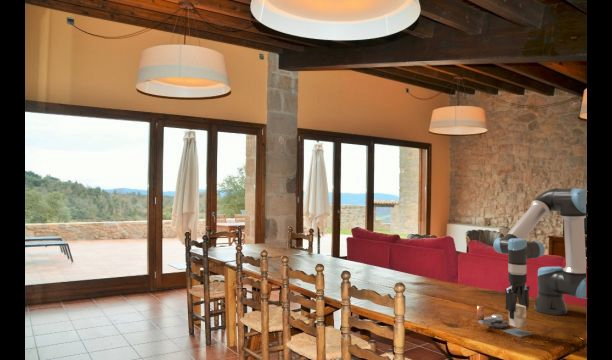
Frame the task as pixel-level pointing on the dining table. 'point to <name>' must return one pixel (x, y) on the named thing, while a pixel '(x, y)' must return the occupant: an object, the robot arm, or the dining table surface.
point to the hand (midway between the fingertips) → (517, 324)
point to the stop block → (520, 316)
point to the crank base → (498, 325)
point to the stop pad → (517, 332)
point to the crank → (487, 319)
